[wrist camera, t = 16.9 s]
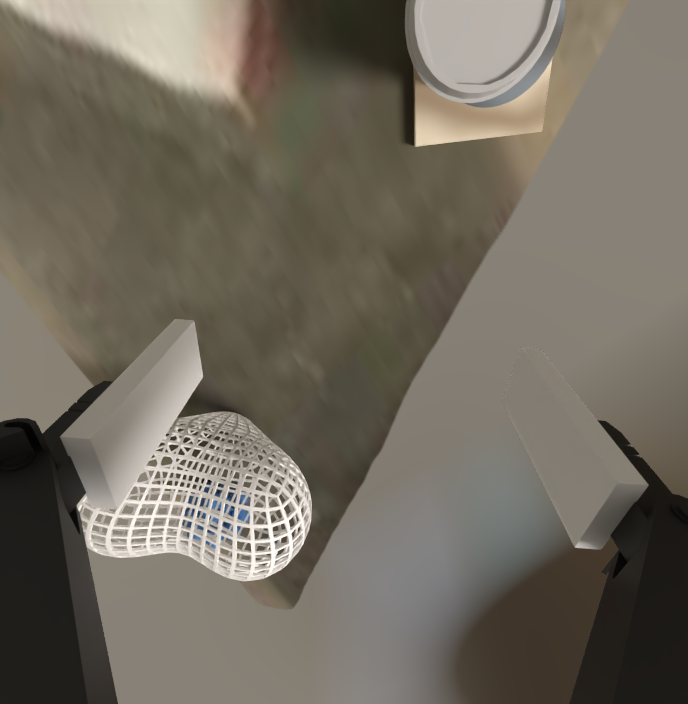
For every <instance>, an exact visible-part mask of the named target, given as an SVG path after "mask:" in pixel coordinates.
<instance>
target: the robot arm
mask: <svg viewBox="0 0 688 704" xmlns="http://www.w3.org/2000/svg"><path fill="white" fill-rule="evenodd" d="M202 378H203V374H202V367H201V361H200V354H199V348H198V342H197V335H196V329H195V323H194V321H193V320H181V319H175V320H174V321H173V322H172V323H171V324H170V325H169V326H168V327H167V328H166V329H165V330H164V331H163V332H162V333H161V334H160V335H159V336H158V337H157V338H156V339H155V340H154V341H153V342H152V343H151V344H150V345H149V346H148V347H147V348H146V349H145V350H144V351H143V352H142V353H141V354H140V355H139V356H138V357H137V358H136V359H135V361H134V362H133V363H132V364H131V365H130V366H129V367H128V368H127V369H126V370H125V371H124V372H123V373H122V374H121V375H120V376H119V377H118V378H117V379H116V380H115V381H114V382H110V381H103V382H102V383H100V384H98V385H96V386H94V387H93V388H91V389H89V390H88V391H87V392H86V393H85V394H84V395H83V396H82V397H80V399H79V400H78V401H77V403H74V404H73V405H72V406H71V407H70V408H69V409H68V412H65V413H64V414H63V415H62V416H61V417H60V418H59V419H58V420H57V421H55V423H53V424H52V425H51V426H50V427H49V428H48V429H47V430H46V431H45V432H44V433H43V434H42V433H41V431H40V428H39V426H38V425H37V423H36V422H35V421H33V420H30V419H26V418H25V419H24V418H21V419H20V418H17V419H12V420H7V421H3V422H0V704H118V702H117V697H116V692H115V687H114V682H113V677H112V672H111V667H110V662H109V657H108V652H107V647H106V642H105V637H104V632H103V627H102V622H101V617H100V612H99V607H98V603H97V597H96V592H95V587H94V582H93V577H92V572H91V567H90V562H89V557H88V552H87V547H86V542H85V537H84V532H83V527H82V522H81V517H80V512H79V510H78V508H77V504H78V503H79V502H80V500H81V499H82V498H83V496H84V495H85V494H86V496H87V499H88V501H89V503H90V505H91V507H95V508H107V509H118V508H119V507H120V505H121V504H122V502H123V501H124V499H125V498H126V496H127V494H128V493H129V491H130V490H131V488H132V487H133V485H134V484H135V482H136V480H137V479H138V477H139V476H140V474H141V473H142V471H143V469H144V468H145V466H146V465H147V463H148V462H149V460H150V459H151V457H152V455H153V454H154V452H155V451H156V449H157V448H158V446H159V445H160V443H161V441H162V440H163V438H164V437H165V435H166V434H167V432H168V431H169V429H170V427H171V426H172V424H173V423H174V421H175V420H176V418H177V417H178V415H179V413H180V412H181V410H182V409H183V407H184V406H185V404H186V403H187V401H188V399H189V398H190V396H191V395H192V393H193V392H194V390H195V389H196V387H197V385H198V384H199V382H200V381H201V379H202ZM502 403H503V405H504V407H505V409H506V411H507V413H508V415H509V417H510V419H511V421H512V423H513V425H514V427H515V429H516V431H517V433H518V435H519V437H520V439H521V441H522V443H523V445H524V447H525V449H526V451H527V453H528V455H529V457H530V459H531V461H532V463H533V465H534V467H535V469H536V471H537V473H538V475H539V477H540V479H541V481H542V483H543V485H544V487H545V489H546V491H547V493H548V495H549V497H550V499H551V501H552V503H553V505H554V507H555V509H556V511H557V513H558V515H559V517H560V519H561V521H562V523H563V525H564V527H565V529H566V531H567V533H568V535H569V537H570V539H571V541H572V543H573V545H574V547H576V548H588V549H600V550H601V549H602V548H603V547H604V545H605V544H606V543H607V541H608V540H609V539H610V537H612V538H613V540H614V542H615V544H616V545H617V547H618V549H619V550H618V551H617V553H616V554H615V555H614V557H613V558H612V559H611V560H610V562H609V563H608V564H607V566H606V567H605V568H604V569H603V571H602V572H603V573H604V574H607V573H608V572H609V573H608V576H607V579H606V583H605V587H604V589H603V593H602V596H601V599H600V603H599V606H598V609H597V613H596V616H595V620H594V623H593V626H592V630H591V633H590V636H589V639H588V643H587V646H586V649H585V653H584V656H583V659H582V663H581V666H580V670H579V673H578V676H577V680H576V683H575V686H574V689H573V693H572V696H571V699H570V703H569V704H688V499H687V498H685V497H682V496H680V495H675V494H672V493H671V491H670V490H669V489H668V488H667V487H666V485H665V484H664V483H663V482H662V481H661V480H660V478H659V477H658V476H657V475H656V474H655V472H654V471H653V470H652V469H651V468H650V466H649V465H648V464H647V463H646V462H645V460H644V459H643V458H640V455H639V453H638V452H637V451H636V450H635V449H634V448H633V447H631V444H630V443H629V442H628V440H627V439H626V438H625V437H624V436H623V434H622V433H621V432H620V431H618V430H617V429H616V428H614V427H613V426H612V425H610V424H609V423H608V422H606V421H599V420H597V419H596V418H595V417H594V416H593V415H592V413H591V412H590V411H589V409H588V408H587V407H586V406H585V404H584V403H583V402H582V401H581V399H580V398H579V397H578V396H577V394H576V393H575V392H574V390H573V389H572V388H571V387H570V385H569V384H568V383H567V382H566V380H565V379H564V378H563V377H562V376H561V374H560V373H559V372H558V370H557V369H556V368H555V367H554V365H553V364H552V363H551V362H550V360H549V359H548V358H547V356H546V355H545V354H544V353H543V351H542V350H541V349H538V348H525V347H521V349H520V352H519V354H518V357H517V360H516V363H515V365H514V368H513V371H512V373H511V376H510V379H509V382H508V384H507V387H506V390H505V393H504V395H503V398H502Z"/></svg>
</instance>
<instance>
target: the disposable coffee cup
mask: <svg viewBox="0 0 688 704" xmlns="http://www.w3.org/2000/svg"><path fill="white" fill-rule="evenodd" d="M560 2H561V0H407V2H406V7H405V34H406V42H407V48H408V52H409V55H410V58H411V61H412V63H413V65H414V68H415V69H416V71H417V73H418V75H419V76H420V78H421V79H422V81H423V82H424V83H425V84H426V85H427V86H428V87H429V88H430V89H431V90H432V91H434V92H435V93H436V94H438V95H439V96H441V97H444V98H446V99H448V100H450V101H455V102H459V103H476V102H482V101H485V100H489V99H492V98H494V97H496V96H498V95H500V94H502V93H504V92H506V91H507V90H509V89H510V88H511V87H513V86H514V85H515V84H516V83H518V82H519V81H520V80H521V79H522V78H523V77H524V76H525V75H526V74H527V73H528V72H529V71H530V70H531V68H532V67H533V66H534V64H535V63H536V61H537V60H538V59H539V57H540V56H541V54H542V52H543V50H544V48H545V47H546V45H547V43H548V41H549V39H550V37H551V34H552V32H553V29H554V26H555V24H556V20H557V16H558V12H559V8H560Z"/></svg>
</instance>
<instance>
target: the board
mask: <svg viewBox="0 0 688 704" xmlns="http://www.w3.org/2000/svg"><path fill="white" fill-rule="evenodd" d="M564 18H565V0H561V2H560V8H559V12H558V16H557V20H556V24H555V26H554V29H553V32H552V34H551V37H550V39H549V41H548V43H547V45H546V47H545V48H544V50H543V52H542V54H541V56H540V57H539V59H538V60H537V61H536V63H535V64H534V66H533V67H532V68H531V70H530V71H529V72H528V73H527V74H526V75H525V76H524V77H523V78H522V79H521V80H520V81H519V82H518V83H516V84H515V85H514V86H513V87H511V88H510V89H509V90H507V91H506V92H504V93H502V94H500V95H498V96H496V97H494V98H492V99H489V100H485V101H482V102H476V103H459V102H455V101H450V100H448V99H446V98H444V97H441V96H439V95H438V94H436V93H435V92H434V91H432V90H431V89H430V88H429V87H428V86H427V85H426V84H425V83H424V82H423V81H422V79H421V78H420V76H419V75H418V73H417V71H416V69H415V68H414V65H413V70H414V146H424V145H432V144H441V143H449V142H458V141H466V140H475V139H483V138H491V137H500V136H508V135H517V134H525V133H534V132H542V128H543V121H544V114H545V107H546V100H547V93H548V86H549V79H550V72H551V65H552V58H553V56H554V54H555V51H556V49H557V46H558V44H559V41H560V37H561V34H562V30H563V25H564Z"/></svg>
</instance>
